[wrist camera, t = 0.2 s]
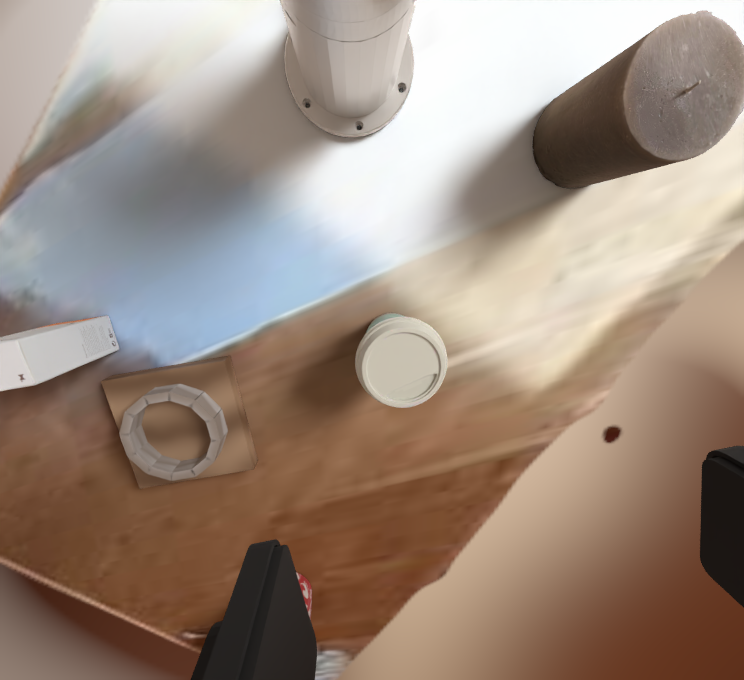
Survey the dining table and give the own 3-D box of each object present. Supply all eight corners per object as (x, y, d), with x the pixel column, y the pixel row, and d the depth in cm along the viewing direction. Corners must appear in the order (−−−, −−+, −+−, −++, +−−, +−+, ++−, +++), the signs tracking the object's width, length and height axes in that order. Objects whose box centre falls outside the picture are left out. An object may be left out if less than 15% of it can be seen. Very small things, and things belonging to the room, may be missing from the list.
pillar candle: (529, 190, 41) (627, 161, 27) (535, 89, 39) (645, -2, 25) (614, 187, 42) (756, 156, 27) (625, 87, 40) (786, -4, 25)
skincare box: (109, 313, 43) (17, 338, 31) (121, 349, 44) (37, 387, 32) (55, 321, 42) (-57, 350, 31) (68, 357, 44) (-35, 398, 32)
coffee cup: (350, 366, 45) (349, 408, 34) (359, 296, 43) (361, 315, 32) (420, 374, 46) (442, 418, 34) (432, 306, 44) (460, 327, 32)
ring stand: (112, 375, 44) (85, 389, 40) (230, 355, 44) (216, 367, 40) (148, 478, 48) (127, 502, 43) (257, 460, 48) (248, 481, 43)
